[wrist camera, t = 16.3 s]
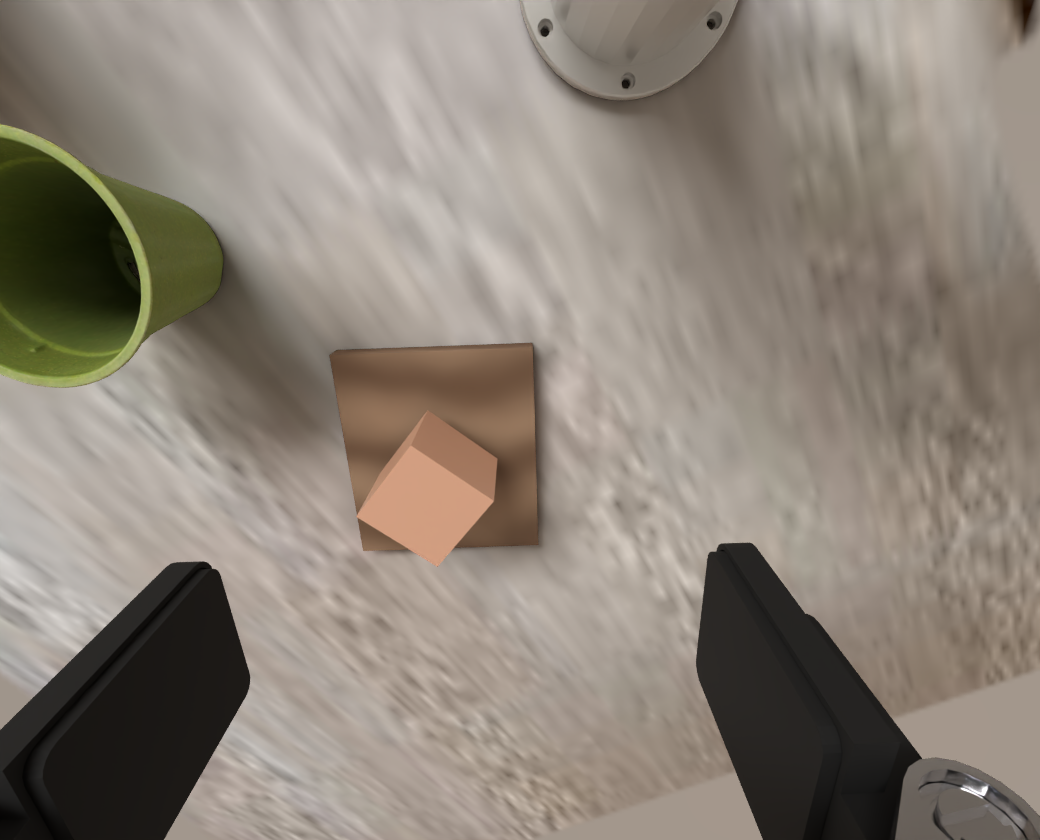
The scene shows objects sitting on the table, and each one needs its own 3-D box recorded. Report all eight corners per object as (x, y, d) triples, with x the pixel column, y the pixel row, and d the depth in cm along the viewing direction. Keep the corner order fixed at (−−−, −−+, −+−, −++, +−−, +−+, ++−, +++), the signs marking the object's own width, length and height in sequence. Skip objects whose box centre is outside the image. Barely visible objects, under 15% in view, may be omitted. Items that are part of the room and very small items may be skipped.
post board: (336, 350, 37) (290, 382, 29) (532, 342, 37) (536, 373, 29) (368, 540, 42) (336, 607, 35) (537, 534, 42) (542, 600, 35)
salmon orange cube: (380, 472, 37) (356, 516, 31) (427, 410, 35) (410, 445, 30) (449, 516, 38) (437, 566, 33) (497, 458, 37) (493, 501, 31)
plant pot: (293, 239, 34) (194, 247, 24) (209, 373, 37) (89, 432, 27) (124, 109, 31) (-74, 52, 21) (49, 265, 35) (-155, 284, 24)
